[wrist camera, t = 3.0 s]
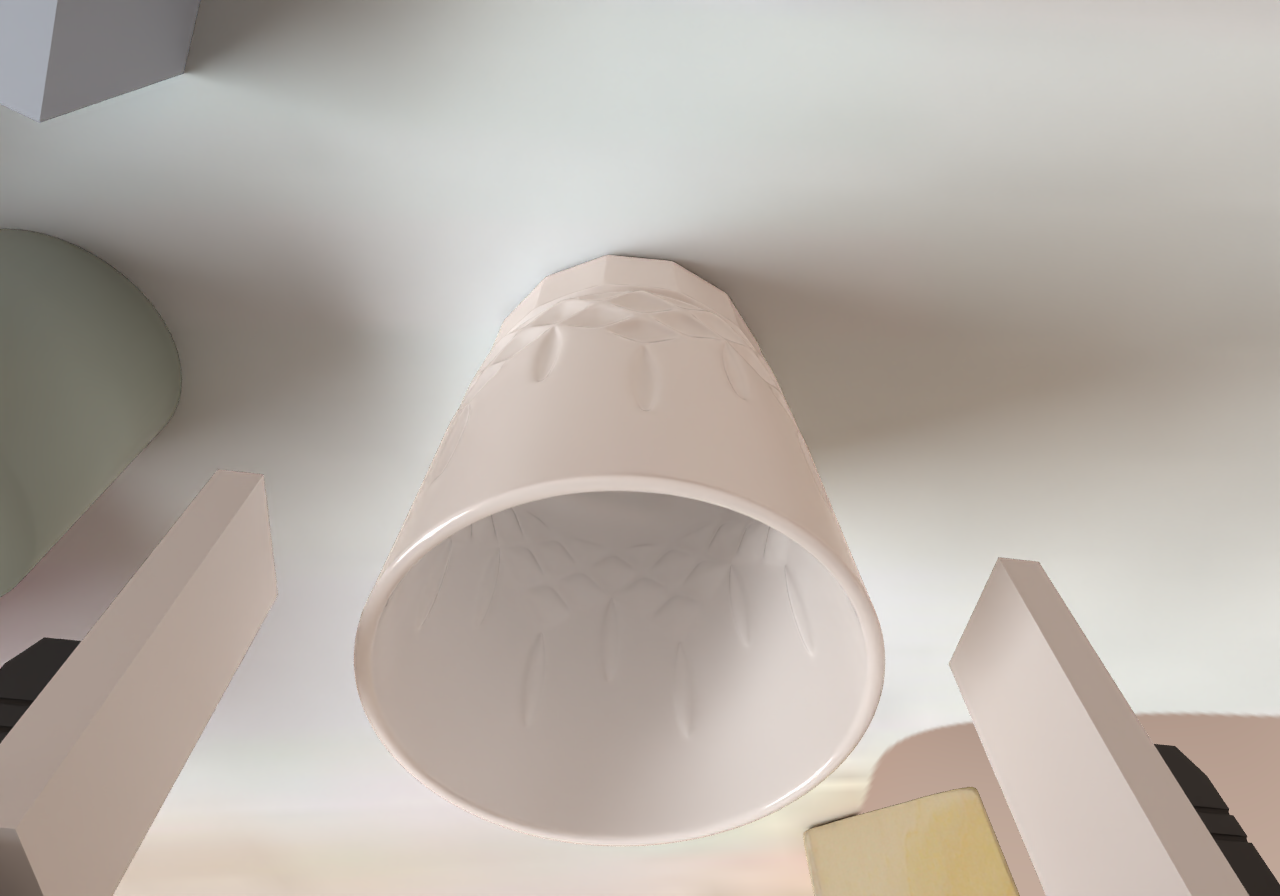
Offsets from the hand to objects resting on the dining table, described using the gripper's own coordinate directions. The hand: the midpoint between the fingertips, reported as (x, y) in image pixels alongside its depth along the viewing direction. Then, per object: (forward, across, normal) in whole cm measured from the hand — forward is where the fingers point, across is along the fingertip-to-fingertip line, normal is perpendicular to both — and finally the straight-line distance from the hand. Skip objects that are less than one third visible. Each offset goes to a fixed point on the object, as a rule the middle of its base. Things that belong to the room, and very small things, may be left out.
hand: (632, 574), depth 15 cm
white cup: (+7, 0, 0) cm, 7 cm away
